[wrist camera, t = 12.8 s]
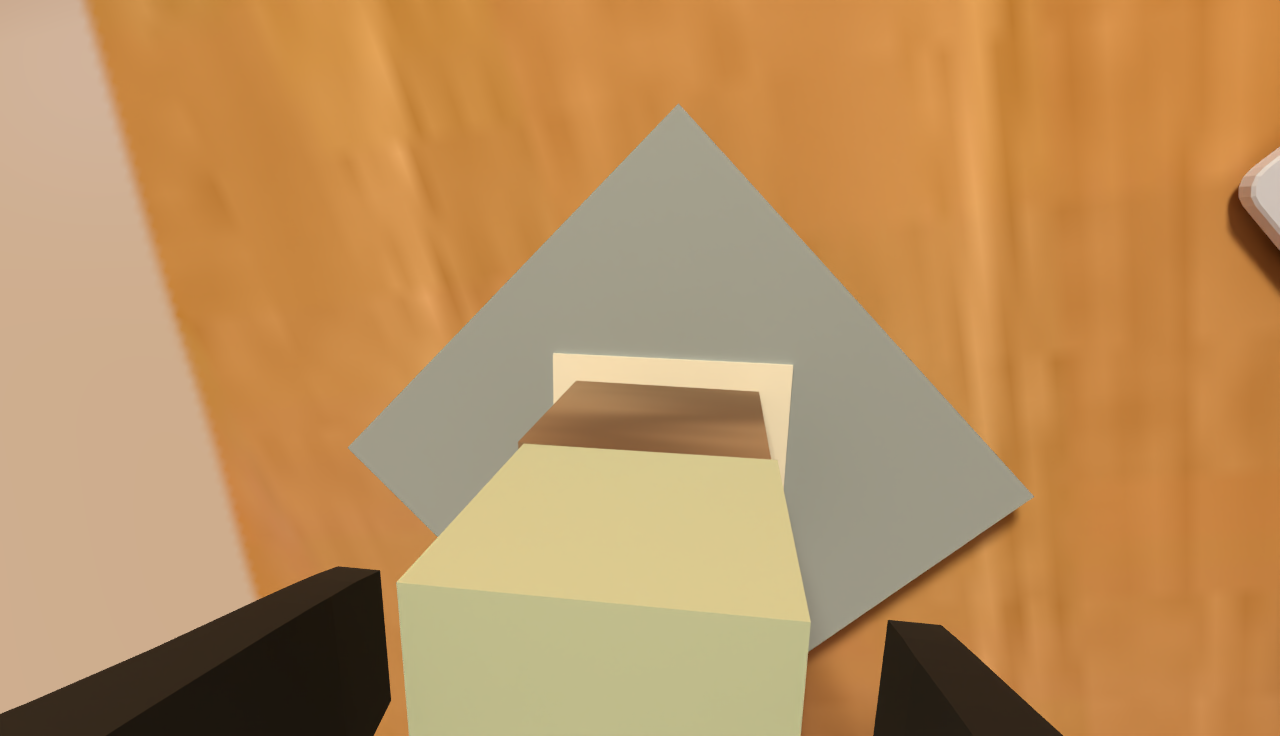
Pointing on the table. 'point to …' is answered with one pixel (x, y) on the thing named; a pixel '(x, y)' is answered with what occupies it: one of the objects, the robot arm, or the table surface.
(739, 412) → the walnut cube
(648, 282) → the baseplate
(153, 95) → the table surface
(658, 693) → the sage cube
